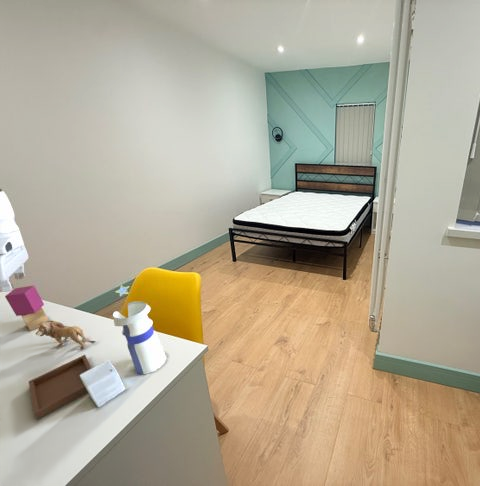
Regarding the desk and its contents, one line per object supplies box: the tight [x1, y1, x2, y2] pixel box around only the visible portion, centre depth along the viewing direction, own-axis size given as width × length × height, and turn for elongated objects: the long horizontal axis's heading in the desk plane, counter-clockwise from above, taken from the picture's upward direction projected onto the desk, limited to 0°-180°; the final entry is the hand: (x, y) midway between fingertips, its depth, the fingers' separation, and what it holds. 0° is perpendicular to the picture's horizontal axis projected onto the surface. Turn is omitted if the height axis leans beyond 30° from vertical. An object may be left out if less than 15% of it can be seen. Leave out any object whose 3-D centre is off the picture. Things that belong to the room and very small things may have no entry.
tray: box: [28, 354, 93, 420], centre depth 69 cm, size 14×12×2 cm
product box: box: [80, 359, 126, 408], centre depth 66 cm, size 6×6×7 cm
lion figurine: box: [35, 320, 96, 350], centre depth 82 cm, size 15×5×9 cm, turn 92°
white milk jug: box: [112, 284, 167, 375], centre depth 71 cm, size 8×9×25 cm
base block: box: [20, 306, 50, 331], centre depth 91 cm, size 5×5×6 cm
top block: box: [4, 285, 45, 317], centre depth 89 cm, size 5×5×8 cm
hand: (14, 284), depth 80 cm, fingers open, 8 cm apart
